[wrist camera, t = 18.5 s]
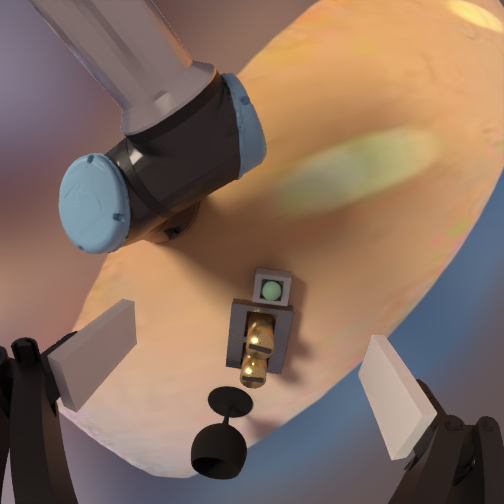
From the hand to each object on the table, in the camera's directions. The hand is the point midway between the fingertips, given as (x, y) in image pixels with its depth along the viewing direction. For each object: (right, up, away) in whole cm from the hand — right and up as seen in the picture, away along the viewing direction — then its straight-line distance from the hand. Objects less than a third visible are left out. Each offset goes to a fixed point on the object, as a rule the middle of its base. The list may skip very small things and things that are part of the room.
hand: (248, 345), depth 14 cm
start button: (+3, -1, +33) cm, 33 cm away
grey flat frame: (+1, -11, +38) cm, 39 cm away
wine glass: (-5, -30, +42) cm, 52 cm away
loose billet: (+1, -15, +38) cm, 41 cm away
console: (+4, -1, +35) cm, 36 cm away
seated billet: (+2, -8, +37) cm, 38 cm away
